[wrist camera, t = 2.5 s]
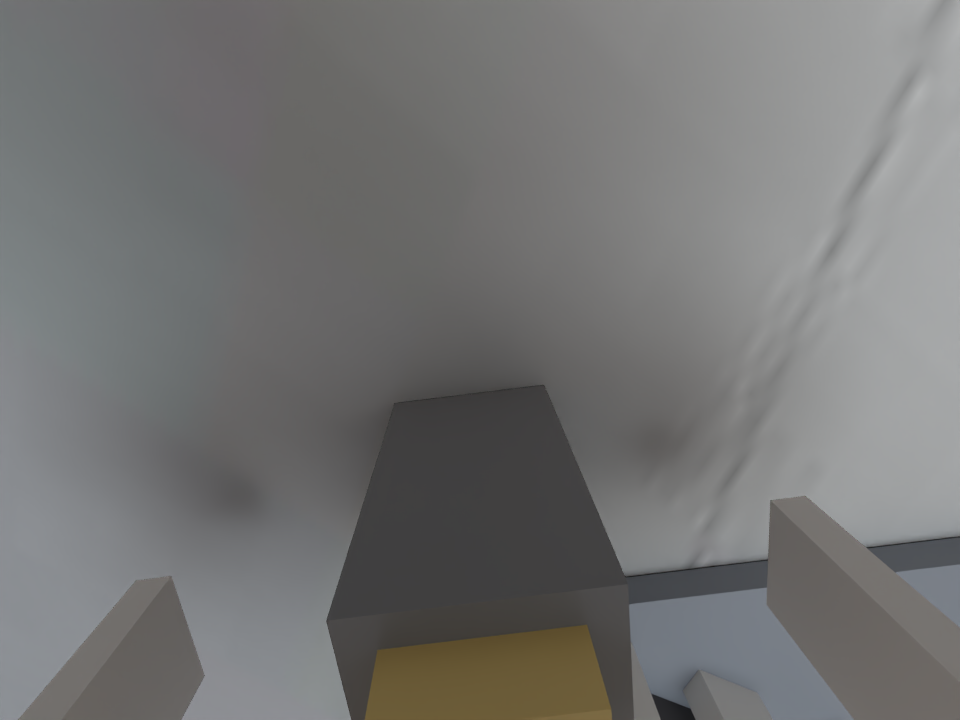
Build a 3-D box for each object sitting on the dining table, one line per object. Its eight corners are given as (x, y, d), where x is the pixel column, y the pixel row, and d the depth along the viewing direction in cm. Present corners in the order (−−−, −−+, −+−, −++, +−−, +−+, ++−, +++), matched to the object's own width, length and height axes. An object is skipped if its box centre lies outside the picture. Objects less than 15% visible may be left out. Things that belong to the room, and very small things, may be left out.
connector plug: (394, 403, 16) (299, 706, 7) (543, 385, 16) (662, 663, 7) (417, 531, 18) (365, 935, 8) (555, 514, 18) (666, 900, 8)
